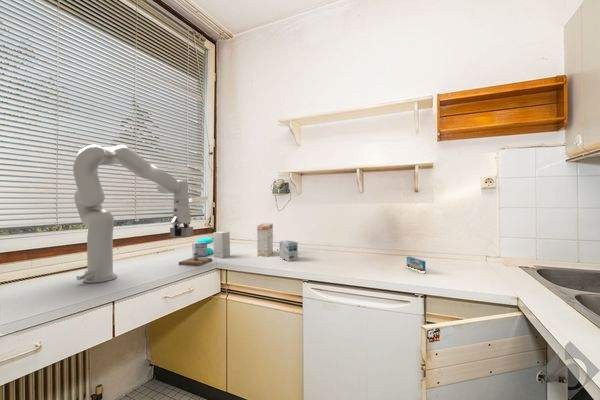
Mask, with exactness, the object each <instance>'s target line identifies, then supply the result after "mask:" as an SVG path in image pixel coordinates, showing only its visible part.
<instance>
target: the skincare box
mask: <svg viewBox="0 0 600 400" xmlns="http://www.w3.org/2000/svg"><path fill="white" fill-rule="evenodd" d="M212 236H213V238H212V239H213V242H212V243H213V258H218V259H226V258H225V257H227V258H230V257H231V243H230V242H231V239H230V238H231V237H230V231H222V230H220V231H216V232H213V233H212ZM229 256H230V257H229Z"/></svg>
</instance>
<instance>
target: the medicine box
mask: <svg viewBox="0 0 600 400" xmlns="http://www.w3.org/2000/svg"><path fill="white" fill-rule="evenodd" d="M191 245H192V251H191V252H192V257H191V258H193V257H194V253H198V257H200V258H206V257H208V255H207V248H208V244H207V243H206V242H200V243H197V242H194V243H192V244H191Z"/></svg>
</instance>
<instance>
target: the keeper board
mask: <svg viewBox="0 0 600 400" xmlns="http://www.w3.org/2000/svg"><path fill="white" fill-rule="evenodd" d="M212 261H213V258H212V257H198V253H194V257H190V258H187V259H184V260H181V261H178V265H179V266H188V267H200V266H202V265H205V264H207V263H210V262H212Z"/></svg>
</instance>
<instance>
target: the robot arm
mask: <svg viewBox="0 0 600 400" xmlns="http://www.w3.org/2000/svg"><path fill="white" fill-rule="evenodd" d="M113 165H121V166H122V167H123V168H125V169H127V170H128V171H130V172H131V173H133V174H134V175H136V177H138V178H142V179H145V180H147V181H148V180H149V181H152V182H153V183H155V184H156V190H157V191H158V192H159V193H160V194H173V207H172V220H171V222H170V224H171V225H172V227H174V229H175V236H181V229H179V228H180V227H181V224H183V227H190V224H191V222H192V216H191V215H192V214H191V208H190V205H189V204H190V203H189V182H188V181H187V180H185V179H176V178H175V177H174V176H172V175H171V174H170V173H168V172H167V171H166V170H163V169H161V168H160V167H158V166H157V165H154V164H152V163H151V162H148V161H147V160H146V159H144V158H143V157H142V156H141V155H139V154H138V153H137V152H135V151H134V150H133V149H131V148H130V147H129V146H126V145H124V144H121V145H120V144H119V145H116V146H111V147H110V146H109V147H102V146H100V145H98V144H90V145H87V146H86V147H83V148H81V149H80V150H79V151H78V153H77V156H76V158H75V160H74V163H73V167H72V168H73V169H72V172H73V177H74V182H75V184H76V188H77V189H76V191H75V192H74V196H73V197H74V203H75V206H76V209H77V213H78V215H79V217H80V220H81V223H82V224H83V226H85V227H86V228H87V237H86V240H87V241H86V243H87V245H86V247H87V248H86V250H87V251H86V253H87V254H86V256H87V258H86V259H87V260H86V261H87V262H86V263H87V266H86V267H87V269H86V270H85V271H84V273H83V274H79V275H77V276H76V278H75V279H76V280H77V281H83V282H84V283H89V284H94V283H95V284H96V283H97V284H98V283H103V282H108V281H111V280H115V279H116V278H117V277H118V274H117V273H115V272H114V263H113V262H114V258H113V257H114V256H113V255H114V251H113V250H114V247H113V246H114V245H113V244H114V242H113V241H114V240H113V238H114V235H113V234H114V229H115V228H114V227H115V218H114V216H113V214H112V212H110V211H109V210H107V209H103V206H102V205H103V204H104V201H105V200H106V199H105V193H104V191H103V188H102V185H101V182H100V177H99V174H98V172H99V171H98V169H99V167H100V166H113Z"/></svg>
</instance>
